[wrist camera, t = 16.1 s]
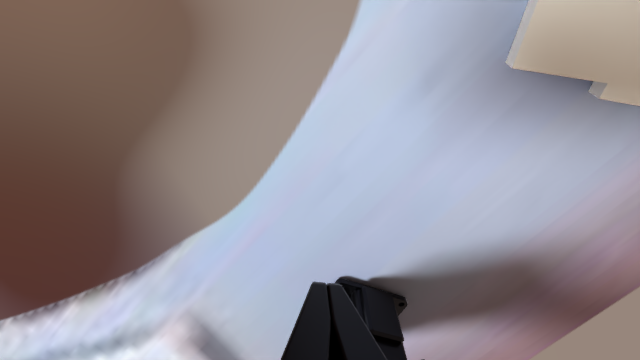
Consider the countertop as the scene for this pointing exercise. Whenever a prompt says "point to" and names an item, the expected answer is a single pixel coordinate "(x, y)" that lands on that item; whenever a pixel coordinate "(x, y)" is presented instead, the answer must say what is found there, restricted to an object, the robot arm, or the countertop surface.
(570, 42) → the domino
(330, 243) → the countertop surface
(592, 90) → the domino
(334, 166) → the countertop surface
